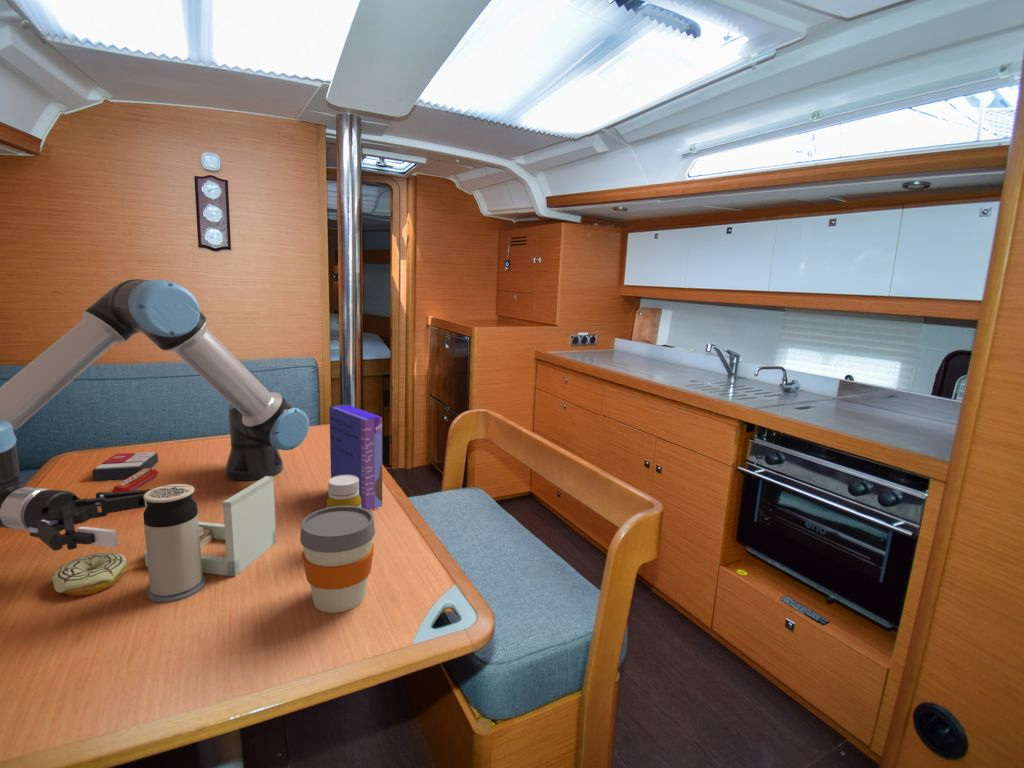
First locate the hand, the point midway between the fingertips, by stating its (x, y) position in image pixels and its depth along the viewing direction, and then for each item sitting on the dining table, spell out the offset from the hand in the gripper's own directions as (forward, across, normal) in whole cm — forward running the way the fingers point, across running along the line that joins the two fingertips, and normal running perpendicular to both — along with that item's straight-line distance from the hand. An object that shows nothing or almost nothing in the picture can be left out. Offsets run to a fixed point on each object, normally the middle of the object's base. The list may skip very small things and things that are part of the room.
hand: (148, 520), depth 91 cm
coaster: (+4, 0, -13) cm, 13 cm away
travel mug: (+4, 0, -12) cm, 13 cm away
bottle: (+27, -20, -13) cm, 36 cm away
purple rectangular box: (+20, -44, -13) cm, 50 cm away
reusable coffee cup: (+34, -2, -13) cm, 37 cm away
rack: (+3, -12, -13) cm, 18 cm away
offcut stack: (-4, -12, -13) cm, 18 cm away
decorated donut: (-12, +1, -13) cm, 18 cm away
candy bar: (-40, -40, -13) cm, 58 cm away
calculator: (-51, -49, -13) cm, 72 cm away
